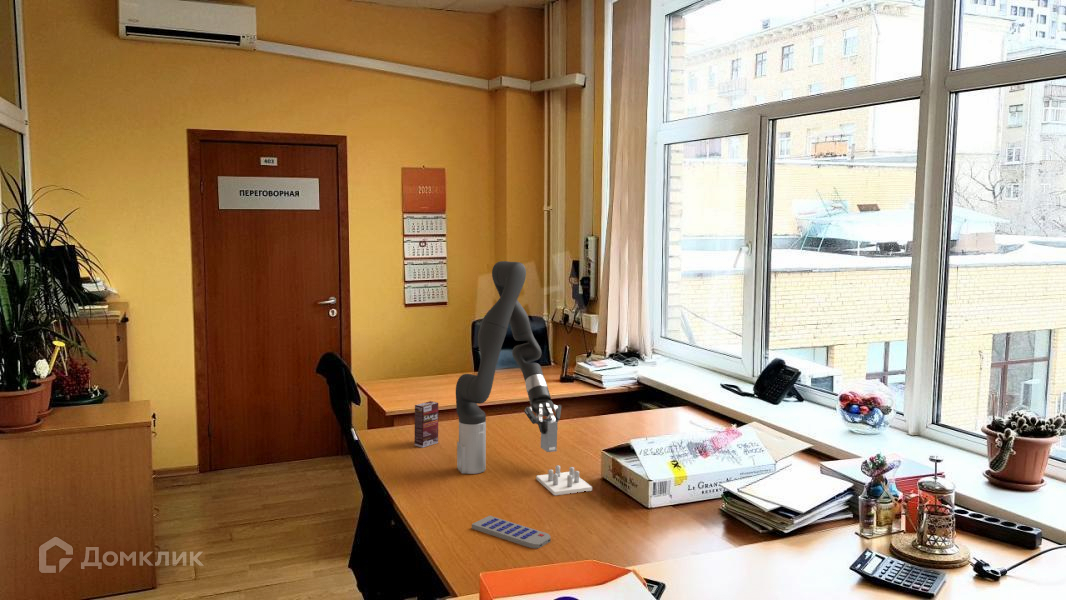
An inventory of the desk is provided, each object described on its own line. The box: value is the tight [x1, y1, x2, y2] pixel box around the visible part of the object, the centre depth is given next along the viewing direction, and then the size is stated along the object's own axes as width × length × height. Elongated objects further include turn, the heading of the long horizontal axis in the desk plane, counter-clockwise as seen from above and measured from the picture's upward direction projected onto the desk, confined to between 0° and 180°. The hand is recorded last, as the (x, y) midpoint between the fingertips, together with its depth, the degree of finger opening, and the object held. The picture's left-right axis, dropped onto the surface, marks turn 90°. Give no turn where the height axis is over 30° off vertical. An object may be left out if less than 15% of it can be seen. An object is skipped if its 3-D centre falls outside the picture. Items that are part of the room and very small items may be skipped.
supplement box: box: [414, 400, 439, 448], centre depth 296 cm, size 9×5×16 cm, turn 143°
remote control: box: [471, 515, 552, 549], centre depth 215 cm, size 8×23×2 cm, turn 53°
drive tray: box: [535, 464, 593, 496], centre depth 254 cm, size 13×16×5 cm
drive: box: [540, 418, 558, 453], centre depth 267 cm, size 4×6×10 cm, turn 21°
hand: (549, 432), depth 266 cm, fingers closed on drive, 3 cm apart
